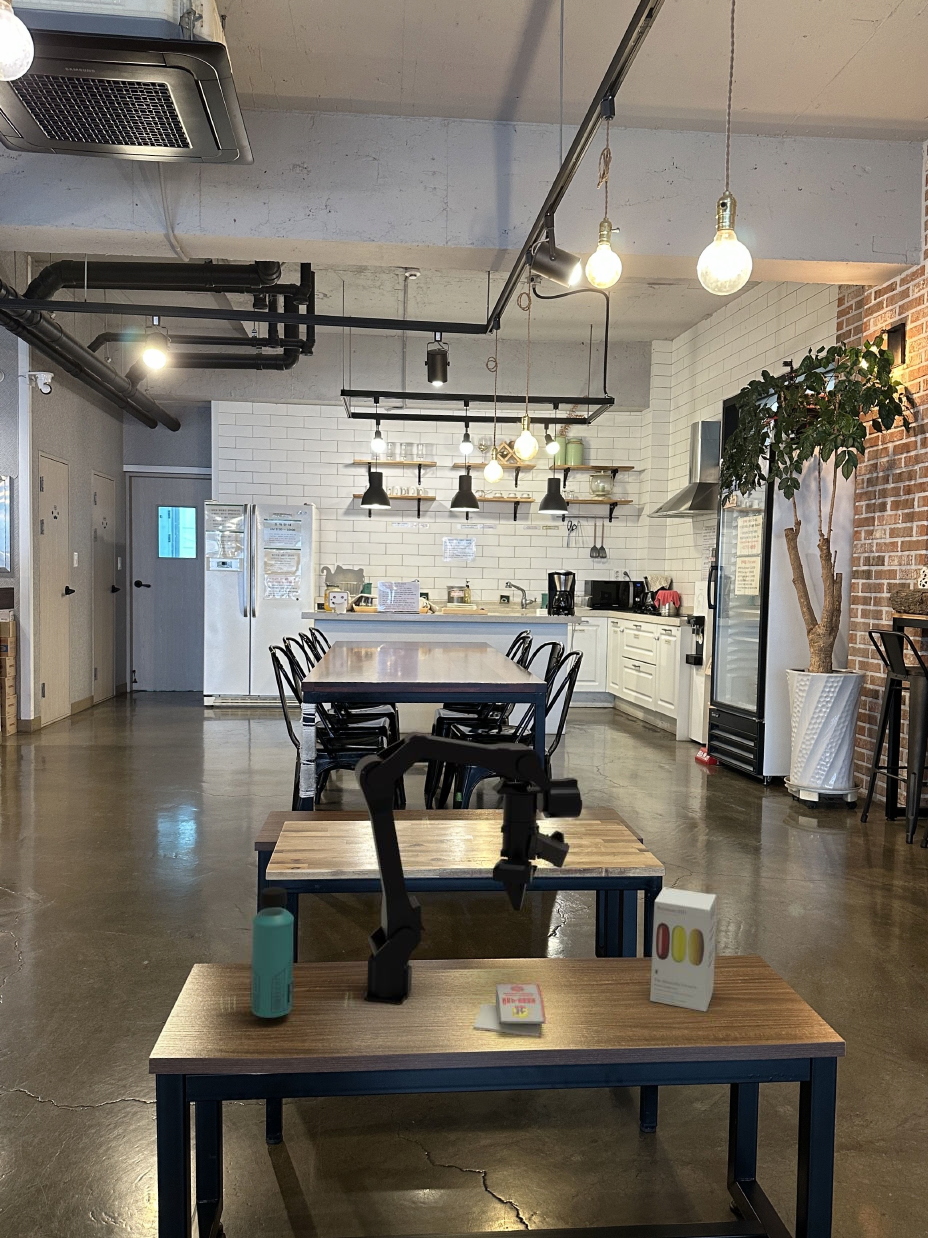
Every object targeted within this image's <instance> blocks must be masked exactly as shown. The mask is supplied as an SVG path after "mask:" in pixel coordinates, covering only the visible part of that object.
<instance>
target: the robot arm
mask: <svg viewBox="0 0 928 1238" xmlns="http://www.w3.org/2000/svg"><path fill="white" fill-rule="evenodd" d="M421 759H428V760H433V761H439V762H445V763H451V764H458V765H464V766H469V767H475V768H476V767H477V768H482V769H485V770H486V769H487V770H489V771H492V772H495V773H496V774H497V773H498V774H500V775H502V776H505V777H508V778H511V779H513V780H516V781H515V782H508V781H507V780H506V779H505V778H504V777H500V779H499V780H498V782H496V783H495V784H494V785H493V786H492V787H491V791H493V792H494V793H495V794H497V795H503V811H502V825H501V826H500V833H501V834H502V844H501V845H502V847H501V850H500V851H499V853H500V855H499V857H500V858H501V859H499V860H498V861H497V862H496V863H495V864H494V866H493V868H492V881H494V882H498V883H502V885H503V886H504V887H503V888H504V889H505V891H506V892H505V893H506V894H507V897H508V899H509V902H510V904H511V908H512V909H513V911H514V912H520V911H521V909H522V905H523V901H524V898H525V892H526V888H527V884H531V883H532V881H533V878H534V876H535V875H536V871H537V869H538V865H535V864H533V863H532V861H536V859H537V860H543V861H545V862H548V863H550V864H552V866H554V867H556V868H558V869H561V868H563V865H564V862H565V861H566V858H567V855H568V853H569V850H570V847H571V846H570V845H569V843H568V842H566V841H565V834H564V833H563V832H561V831H559V830H555V831H554V832H553V833H551V835H549V834H547V833H546V834H544V833H542V832H540V824H539V823H538V822H537V815H538V813H540V814H541V813H542V814H543V817H544V818H545V819H574V818H577V819H578V818H579V817H580V816H581V814H582V810H583V799H582V797H581V791H580V788H579V786H578V785H579V783H578V782H579V781H578V779H577V778H575V777H564V778H550V777H549V775H548V774H547V773H546V771H545V770H544V769H543V761H542V758H541V756H540V754H539V752H538V751H536V750H535V749H533V748H531V747H530V746H527V745H525V744H522V743H519V742H515V743H514V742H513V743H512V742H510V743H506V742H505V743H504V742H503V743H501V742H500V743H494V744H493V743H491V744H482V743H477V742H472V741H467V740H459V739H453V738H448V737H443V736H442V737H441V736H436V735H431V734H430V735H429V734H424V733H422V732H419V731H410V732H409V733H407V734H406V735H405V736H404V737H403V738H401V739H399V740H398V741H396V742H393V743H391V744H390V745H388V746H386V747H384V748H383V749H382V750H380V751H379V752H378V753H376V754H368V755H366V756H363V757H362V758H361V759H360V760H359V761H358V762H357V764H356V765H355V769H354V776H355V779H356V783H357V785H358V788H359V791H360V793H361V796H362V799H363V801H364V803H365V806H366V808H367V812H368V815H369V819H370V825H371V826H370V827H371V831H372V837H373V843H374V848H375V856H376V860H377V866H378V871H379V878H380V884H381V889H382V900H381V901H382V902H381V909H380V910H381V913H380V914H381V916H380V917H381V919H380V920H381V924H380V925H379V926H378V927H377V928H376V929H375V930H374V931H373V932H372V933H371V934H370V935H369V936H368V938H367V939H368V942H369V943H368V944H369V946H370V948H371V950H372V952H371V954H370V955H369V956H368V958H367V977H366V979H367V980H366V981H367V982H366V992H365V994H364V995H363V1000H365V1001H373V1002H381V1003H391V1004H397V1005H398V1004H403V1003H404V1001H405V999H406V998H407V996H409V995H410V992H411V991H412V984H413V983H412V979H413V977H412V975H413V974H412V972H413V966H412V965H411V964H410V958H411V955H412V952H414V951H415V950H416V949H417V948H418V947H419V945H420V944H421V942H422V937H423V935H422V933H423V932H424V931H425V930H426V928H425V927H424V924H423V922H422V906H421V905H420V902H419V901H418V900H417V898H416V896H415V895H410V896H409V895H408V892H407V886H406V881H405V880H406V879H405V875H404V869H403V862H402V858H401V851H400V845H399V840H398V833H397V829H396V822H395V818H394V817H395V816H394V805H395V804H394V803H395V789H396V787H395V783H396V780H398V779H399V778H401V777H402V776H404V775H405V774H406V772H407V771H409V770H410V769H411V768H412V767H413V766H414V765H415V764H417V762H418V761H420V760H421ZM517 781H519V782H517ZM525 783H532V784H533V785H536V786H527V785H526V784H525ZM537 810H538V811H537ZM422 931H423V932H422Z"/></svg>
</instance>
